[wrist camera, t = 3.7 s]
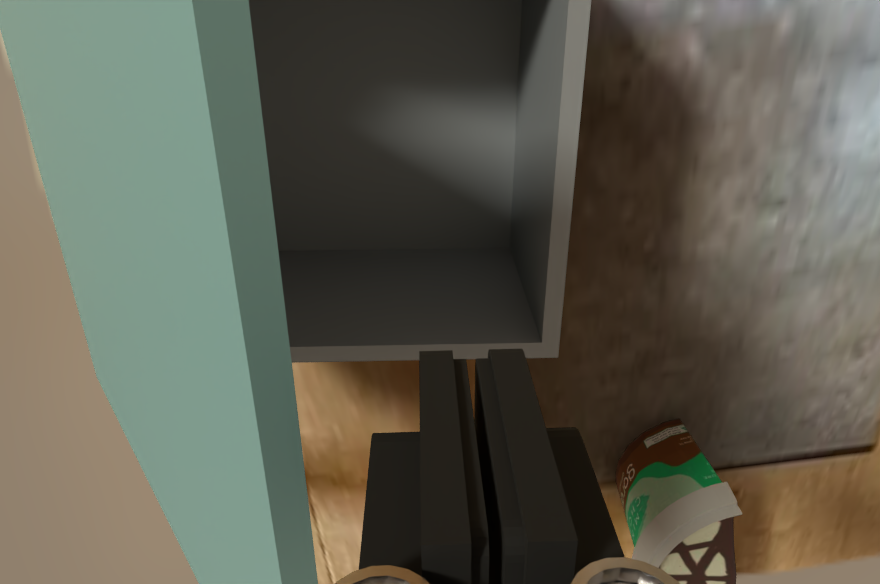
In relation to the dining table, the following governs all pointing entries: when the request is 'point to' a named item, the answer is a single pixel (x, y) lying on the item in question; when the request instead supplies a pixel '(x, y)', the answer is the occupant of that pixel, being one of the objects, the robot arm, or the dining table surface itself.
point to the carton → (421, 171)
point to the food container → (677, 507)
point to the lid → (175, 261)
